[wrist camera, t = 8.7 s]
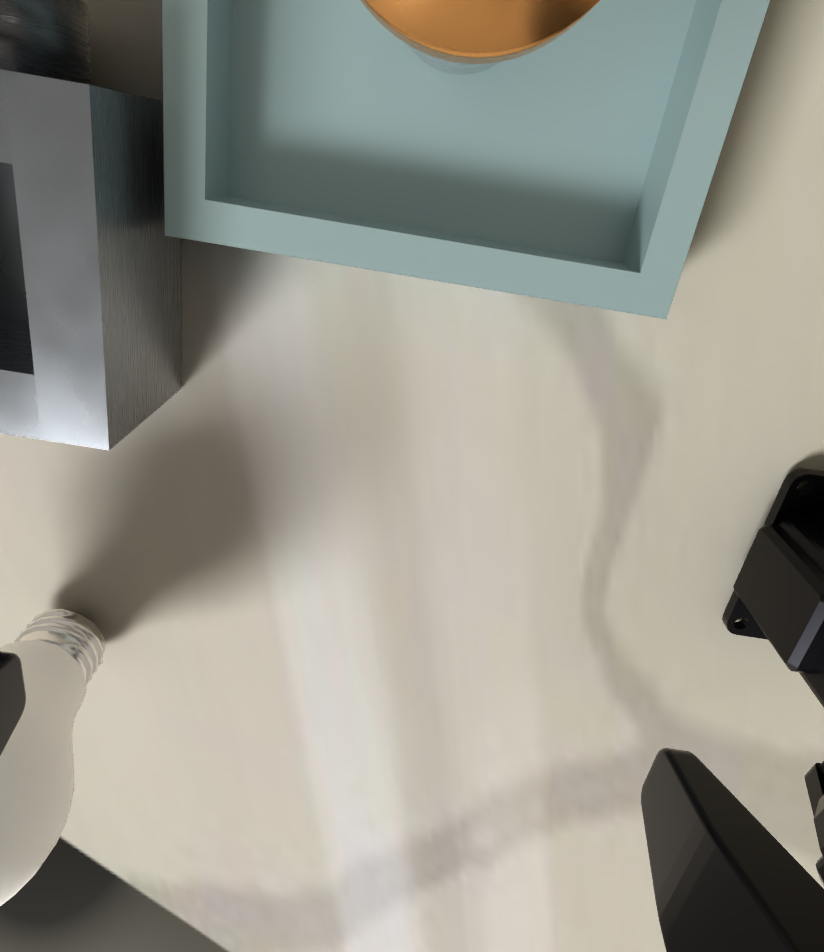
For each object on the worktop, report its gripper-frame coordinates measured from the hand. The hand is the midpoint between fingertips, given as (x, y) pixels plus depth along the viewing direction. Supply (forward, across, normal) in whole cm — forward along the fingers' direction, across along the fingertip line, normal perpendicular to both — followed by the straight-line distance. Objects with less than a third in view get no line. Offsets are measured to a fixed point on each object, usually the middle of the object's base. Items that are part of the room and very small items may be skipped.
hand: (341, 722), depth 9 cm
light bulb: (+13, +11, +11) cm, 20 cm away
